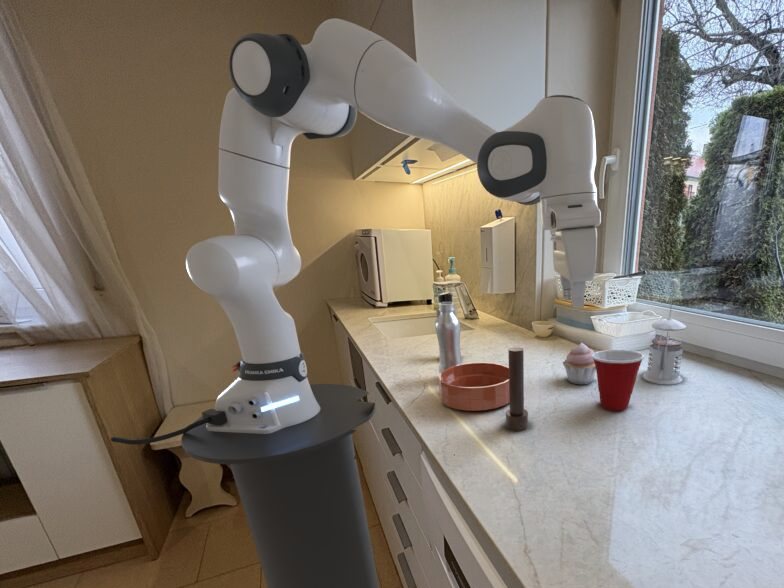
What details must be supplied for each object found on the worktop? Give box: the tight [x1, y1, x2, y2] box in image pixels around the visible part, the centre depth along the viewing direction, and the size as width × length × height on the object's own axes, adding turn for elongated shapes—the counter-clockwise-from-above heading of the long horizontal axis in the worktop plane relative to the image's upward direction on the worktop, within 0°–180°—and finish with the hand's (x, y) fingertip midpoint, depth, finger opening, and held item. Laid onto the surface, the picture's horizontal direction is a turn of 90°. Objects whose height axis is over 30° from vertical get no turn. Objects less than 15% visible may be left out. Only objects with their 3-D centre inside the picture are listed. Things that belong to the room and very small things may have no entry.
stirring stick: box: [505, 346, 529, 432], centre depth 79 cm, size 4×4×16 cm
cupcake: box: [562, 342, 597, 385], centre depth 103 cm, size 9×9×10 cm
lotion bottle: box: [436, 291, 458, 319], centre depth 120 cm, size 6×6×20 cm
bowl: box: [437, 361, 510, 412], centre depth 94 cm, size 17×17×6 cm
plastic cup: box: [592, 349, 645, 412], centre depth 88 cm, size 11×11×12 cm
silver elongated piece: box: [434, 301, 464, 375], centre depth 104 cm, size 6×7×20 cm
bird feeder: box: [642, 278, 687, 386], centre depth 101 cm, size 10×12×25 cm
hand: (572, 303), depth 70 cm, fingers open, 8 cm apart
